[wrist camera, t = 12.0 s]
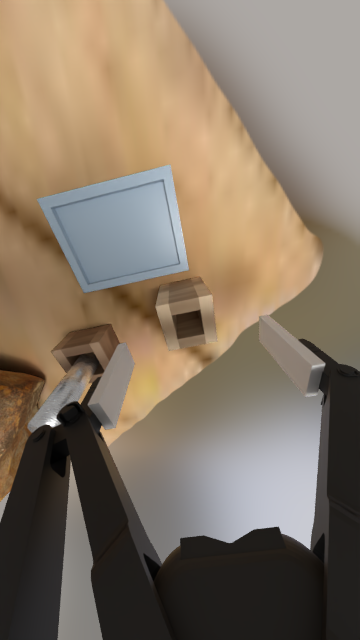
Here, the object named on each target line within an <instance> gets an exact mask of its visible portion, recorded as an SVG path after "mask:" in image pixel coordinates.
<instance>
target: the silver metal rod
mask: <svg viewBox="0 0 360 640" xmlns="http://www.w3.org/2000/svg"><path fill="white" fill-rule="evenodd" d="M99 363H100V362H99V360H98V359H97V357H96V355H95V353H94V352H90V353H85V354H81V355H80V356H79V358H78V359H77V360H76V362H75V363H74V364H73V366H72V367H71V368H70V370H69V371H68V372H67V373H66V375H65V376H64V377H63V379H62V380H61V381H60V383H59V384H58V385H57V387H56V388H55V389H54V391H53V392H52V393H51V394H50V396H49V397H48V398H47V400H46V401H45V402H44V404H43V405H42V406H41V408H40V409H39V410H38V412H37V413H36V414H35V415H34V417H33V418H32V419H31V421H30V422H29V423H28V426H27V427H28V429H29V431H30V432H32V433H33V432H34V431H35V430H36V429H37V428H39V427H40V426H43V425H45V424H49V425H50V426H51V427H52V428H53V427H55V426H57V425H60V424H61V423H60V422H59V421H58V420H57V419H56V418H57V414H58V412H59V411H60V410H61V409H62V408H63V407H64V406H65V405H66V404H68V403H70V402H73V401H77V402H78V401H79V399H80V397H81V395H82V394H83V392H84V390H85V388H86V386H87V385H88V383H89V381H90V379H91V378H92V376H93V374H94V372H95V371H96V369H97V367H98V365H99Z"/></svg>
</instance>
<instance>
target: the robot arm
mask: <svg viewBox="0 0 360 640" xmlns="http://www.w3.org/2000/svg"><path fill="white" fill-rule="evenodd" d="M259 341H260V342H261V343H262V344H263V346H264V347H265V348H266V349H267V350H268V352H269V353H270V354H271V355H272V357H273V358H274V359H275V360H276V362H277V363H278V364H279V365H280V366H281V368H282V369H283V370H284V371H285V373H286V374H287V375H288V376H289V377H290V379H291V380H292V381H293V382H294V384H295V385H296V386H297V387H298V388H299V390H300V391H301V392H302V393H303V395H304V396H305V397H307V396H313V395H317V394H318V390H319V389H320V390H321V391H322V392H323V393H324V395H323V398H322V402H321V405H322V417H321V432H320V446H319V460H318V474H317V489H316V503H315V517H314V524H313V529H312V536H311V548H310V550H309V549H308V548H307V547H305V546H304V545H303V544H301V543H300V542H298V541H297V540H295V539H293V538H291V537H289V536H287V535H284V534H281V532H280V529H279V527H273V528H264V529H256V530H253V531H251V532H249V533H248V534H246V535H244V536H243V537H241V538H239V539H238V540H236V541H234V542H233V543H226V542H223V541H220V540H217V539H213V538H210V537H207V536H196V537H187V538H181V539H180V546H179V547H177V548H176V549H175V550H174V551H173V552H172V553H171V554H170V555H169V556H168V557H167V558H166V560H165V561H164V563H163V564H162V563H161V561H160V559H159V557H158V554H157V553H156V551H155V549H154V547H153V546H152V544H151V543H150V540H149V538H148V537H147V534H146V532H145V530H144V527H143V525H142V523H141V521H140V519H139V516H138V514H137V512H136V510H135V507H134V505H133V503H132V501H131V498H130V496H129V494H128V492H127V490H126V487H125V486H124V483H123V480H122V478H121V476H120V474H119V472H118V469H117V467H116V465H115V463H114V460H113V458H112V456H111V454H110V451H109V449H108V447H107V445H106V442H105V440H104V438H103V436H102V433H101V432H100V428H101V425H102V426H103V427H104V429H105V430H106V429H112V428H116V424H117V421H118V418H119V414H120V411H121V408H122V404H123V401H124V398H125V394H126V391H127V388H128V385H129V381H130V378H131V375H132V371H133V368H134V365H135V363H134V360H133V358H132V356H131V353H130V351H129V349H128V347H127V344H126V343H121V344H118V346H117V348H116V350H115V352H114V354H113V356H112V358H111V360H110V362H109V363H108V365H107V367H106V369H105V371H104V373H103V375H102V376H101V377H97V379H96V380H95V381H94V382H93V383H92V385H91V387H90V389H89V390H88V392H87V394H86V396H85V398H84V399H83V401H82V403H81V405H80V404H79V403H78V402H77V401H73V402H70V403H68V404H66V405H65V406H64V407H63V408H62V409H61V410H60V411H59V412H58V414H57V418H56V419H57V420H58V421H59V422H60V423H61V424H60V425H57V426H55V427H53V428H52V427H51V426H50V425H49V424H45V425H43V426H40V427H39V428H37V429H36V430H35V431H34V432H33V433H32V434H31V435H30V436H29V437H28V439H27V441H26V444H25V447H24V450H23V453H22V457H21V460H20V463H19V466H18V469H17V472H16V475H15V478H14V482H13V485H12V488H11V491H10V494H9V497H8V500H7V503H6V507H5V510H4V513H3V516H2V519H1V522H0V640H57V638H58V625H59V611H60V597H61V584H62V570H63V557H64V544H65V530H66V517H67V504H68V490H69V477H70V461H71V462H72V466H73V471H74V475H75V480H76V484H77V489H78V493H79V498H80V502H81V507H82V511H83V515H84V520H85V524H86V529H87V533H88V538H89V542H90V546H91V551H92V556H93V567H92V570H91V582H92V588H93V593H94V598H95V603H96V608H97V613H98V618H99V623H100V628H101V632H102V638H103V640H360V372H359V371H358V370H357V369H355V368H353V367H351V366H348V365H342V364H338V363H337V362H336V361H334V360H333V359H332V358H331V357H329V356H328V355H327V354H325V353H324V352H323V351H321V350H320V349H319V348H317V347H316V346H315V345H314V344H312V343H311V342H309V341H307V340H305V339H299V340H297V339H296V338H295V337H293V336H292V335H291V334H290V333H289V332H288V331H286V330H285V329H284V328H283V327H282V326H280V325H279V324H278V323H277V322H276V321H274V320H273V319H272V318H271V317H270V316H269V315H264V316H259Z"/></svg>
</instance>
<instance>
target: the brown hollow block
mask: <svg viewBox="0 0 360 640" xmlns="http://www.w3.org/2000/svg"><path fill="white" fill-rule="evenodd" d="M118 344H120V343H119V341H118V339H117V337H116V334H115V332H114V330H113V328H112V326H111V324H108V325H104V326H99V327H94V328H89V329H84V330H79V331H75V332H70V333H69V334H68V335H67V336H66V337H65V338H64V339H63V340H62V341H61V342H60V343H59V344H58V345H57V346H56V347H55V348H54V349H53V350H52V351H51V353H52V354H53V355H54V357H55V358H56V359H57V361H58V362H59V364H60V365H61V366H62V368H63V369H64V370H65V372H66V373H67V372H68V371H69V370H70V368H71V367H72V366H73V364H74V363H75V362H76V360H77V359H78V358H79V356H80V355H81V354H85V353H90V352H94V353H95V355H96V357H97V359H98V360H99V362H100V363H99V365H98V367H97V369H96V371H95V372H94V374H93V376H92V378H91V379H90V381H89V383H93V382H94V381H95V380H96V379H97V377H101V376H102V375H103V373H104V371H105V369H106V367H107V365H108V363H109V362H110V360H111V358H112V356H113V354H114V352H115V350H116V348H117V346H118Z"/></svg>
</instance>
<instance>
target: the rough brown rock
mask: <svg viewBox="0 0 360 640" xmlns="http://www.w3.org/2000/svg"><path fill="white" fill-rule="evenodd" d="M43 385H44V380H43V379H42V378H39V377H36V376H32V375H29V374H25V373H16V372H11V371H2V370H0V501H1V500H2V499H3V498H4V497H5V496H6V495H7V494H8V493H9V492H10V491H11V488H12V485H13V482H14V478H15V475H16V472H17V469H18V466H19V463H20V460H21V457H22V453H23V450H24V447H25V444H26V441H27V439H28V437H29V436H30V435H31V434H32V432H30V431H29V429H28V427H27V426H28V423H29V422H30V421H31V419H32V418H33V417H34V415H35V414H36V413H37V412H38V408H37V402H38V400H39V395H40V393H41V391H42V388H43Z"/></svg>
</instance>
